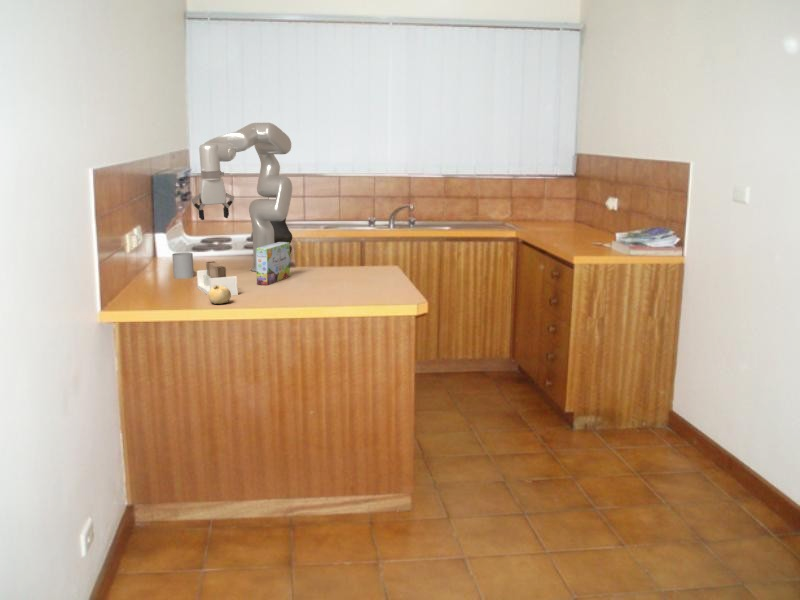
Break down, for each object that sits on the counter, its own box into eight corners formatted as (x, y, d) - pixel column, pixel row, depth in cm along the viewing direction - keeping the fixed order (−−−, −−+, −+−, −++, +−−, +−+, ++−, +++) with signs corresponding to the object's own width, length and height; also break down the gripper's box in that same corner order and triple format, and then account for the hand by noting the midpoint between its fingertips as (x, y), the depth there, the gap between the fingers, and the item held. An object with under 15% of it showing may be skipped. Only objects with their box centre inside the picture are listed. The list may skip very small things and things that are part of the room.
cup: (188, 279, 328) (186, 255, 326) (170, 278, 330) (168, 255, 328) (197, 275, 336) (195, 252, 334) (179, 275, 338) (178, 252, 336)
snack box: (268, 285, 314) (267, 248, 310) (256, 285, 315) (254, 248, 312) (291, 276, 333) (290, 241, 330) (279, 276, 335) (277, 241, 332)
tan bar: (215, 273, 309) (214, 261, 308) (226, 280, 295) (225, 267, 294) (206, 274, 307) (206, 262, 306) (218, 281, 294) (217, 267, 293)
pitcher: (244, 257, 387) (241, 206, 382) (267, 251, 406) (265, 203, 401) (279, 259, 379) (277, 207, 374) (302, 253, 399) (300, 204, 393)
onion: (210, 301, 285) (209, 282, 283) (232, 300, 285) (231, 281, 284) (206, 306, 277) (205, 286, 275) (229, 305, 277) (228, 286, 276)
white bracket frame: (222, 285, 314) (221, 268, 312) (237, 294, 296) (236, 276, 294) (197, 288, 309) (196, 270, 308) (211, 297, 291) (210, 279, 289)
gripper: (229, 173, 316) (232, 216, 320) (186, 176, 308) (190, 219, 312) (235, 175, 310) (238, 218, 314) (191, 177, 301) (195, 221, 306)
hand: (214, 218), depth 313 cm, fingers open, 9 cm apart
